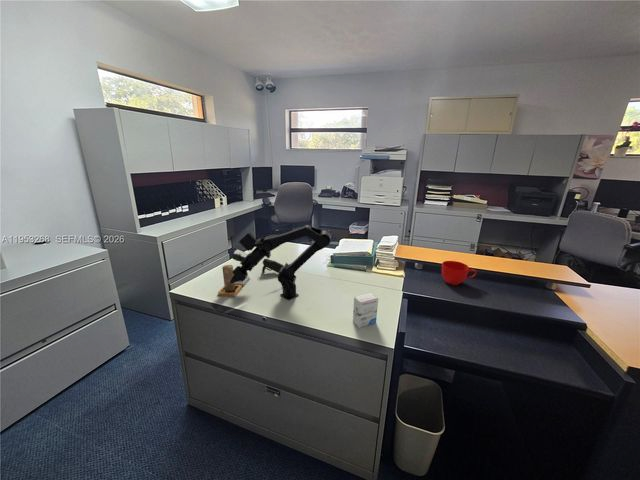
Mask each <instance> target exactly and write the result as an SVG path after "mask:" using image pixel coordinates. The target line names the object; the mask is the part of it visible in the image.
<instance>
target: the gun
mask: <svg viewBox="0 0 640 480" xmlns="http://www.w3.org/2000/svg"><path fill="white" fill-rule="evenodd" d="M262 265H263V266H262V268H261V273H265V271H266V270H267V271H270V272H271V271H273V272H275V273H277V274H278V273H279V271H280V269H281V267H283V266H284V265H285V264H283V263H280V262H278V261H276V260H273V259H270V258H263V259H262Z"/></svg>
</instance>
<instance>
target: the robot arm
mask: <svg viewBox="0 0 640 480" xmlns="http://www.w3.org/2000/svg"><path fill="white" fill-rule="evenodd" d="M303 237H308V238H309V239H310V240H312V242H311V244H310V245H309V246H308V247H307V248H306V249H305V250H304V251H302V253H300V255H299V256H297V257H296V259H294V260H293V261H292V262H291V263H289V264H288V262H285V264H283V265H284V266H283V267H281V269H280V271H279V273H277V274H278V275H277V281H278V283H280V285H281V287H282V292H281V293H280V294H279V295H280V296H281V297H283V298H284V299H286V300H288V301H290V300H292V299H294V298H296V297H298V296H299V293H297V285H296V280H297V275H295V273H296V272H297V271H298V270H299V269H300V268H301V267H302V266H303V265H304V264H305V263H306V262H308V260H310V258H312V257H313V256H314V255H315V254H316V253H317V252H319V251H321V250H323V249H325V248H326V247H327V246H330V244H331V237H332V236H331V233H330V232H329V231H328V230H322V229H320V228H316V227H315V226H314V227H313V226H311V225H309V224H306V225H304V226H302V227H299V228H295V229H292V230H289V231H287V232H284V233H282V234H281V233H280V234H271V235H267V236H265V237H262V238H258V239H257V238H256V237H255V236H254V235H253V234H252V233H251V231H250V232H248V233H246V235H244V236H243V237H242V238H241V239H240V240H239V241H238V242H237V243H238V244H239V245H240V246H241V247H242V248H244V249H245V250H246V251H248V252H249V253H246V252H245V251H242V250H241V249H236V250H234V252H233V254H232V255H231V258H232V260H234V261H236V262H240V263H239V264H240V265H238V266H236V267H235V268H233V271H232V273H233V274H234V276H233V277H232V279H231V281H230V283H234V282H237V281H243V280H244V279H245V278H246V277H247V276H248V277H249V275H248V274H249V273H248V272H252V270H253V269H254V268H255V267H256V266H257V265H258V264H259V263H260V262H261V261H263V260H264V259H265V257H266V259H270V258H271V256H272V254H271V252H272V251H274V250H275V249H277V248H279V247H280V246H281V245H283V244H287V243H288V242H292V241H295V240H297V239H301V238H303ZM250 251H251V252H250Z"/></svg>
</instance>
